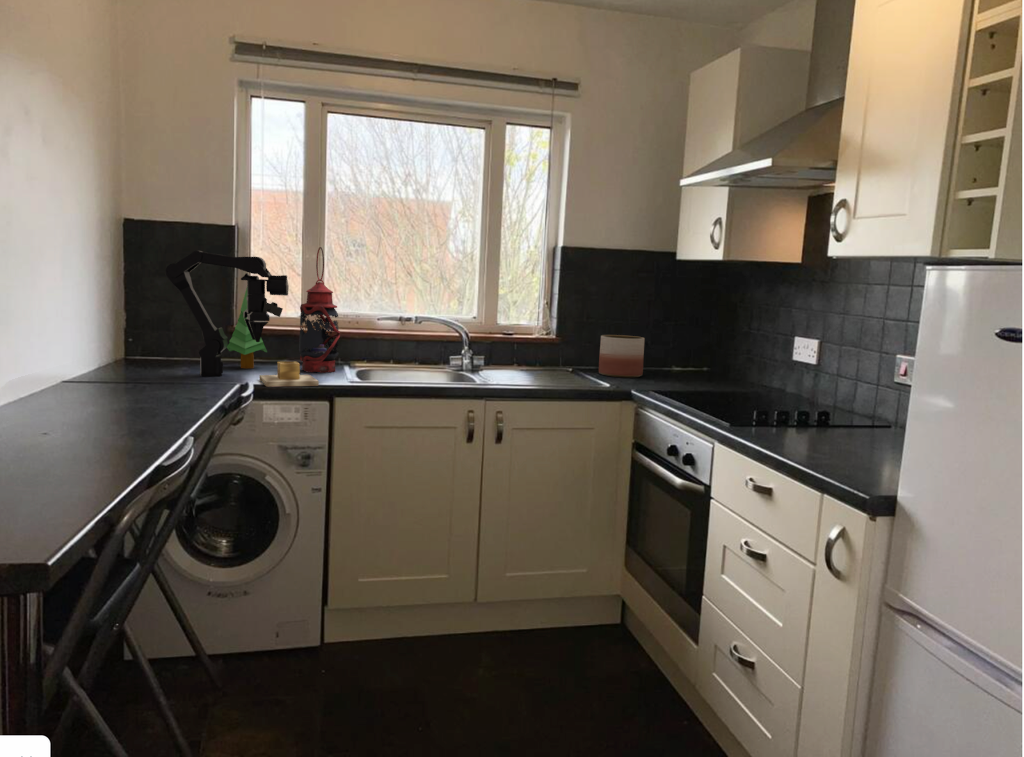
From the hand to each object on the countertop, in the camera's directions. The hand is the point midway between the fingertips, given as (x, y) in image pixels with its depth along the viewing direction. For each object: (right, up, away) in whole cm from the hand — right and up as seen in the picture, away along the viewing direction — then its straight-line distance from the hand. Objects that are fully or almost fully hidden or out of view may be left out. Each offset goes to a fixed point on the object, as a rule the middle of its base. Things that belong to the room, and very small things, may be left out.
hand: (256, 340), depth 259 cm
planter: (+130, -12, +52) cm, 141 cm away
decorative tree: (-11, -9, +23) cm, 27 cm away
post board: (+14, -14, -10) cm, 22 cm away
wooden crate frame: (+14, -13, -10) cm, 21 cm away
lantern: (+15, -10, +24) cm, 30 cm away
